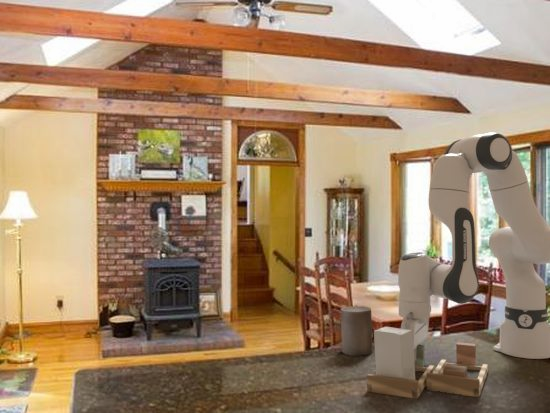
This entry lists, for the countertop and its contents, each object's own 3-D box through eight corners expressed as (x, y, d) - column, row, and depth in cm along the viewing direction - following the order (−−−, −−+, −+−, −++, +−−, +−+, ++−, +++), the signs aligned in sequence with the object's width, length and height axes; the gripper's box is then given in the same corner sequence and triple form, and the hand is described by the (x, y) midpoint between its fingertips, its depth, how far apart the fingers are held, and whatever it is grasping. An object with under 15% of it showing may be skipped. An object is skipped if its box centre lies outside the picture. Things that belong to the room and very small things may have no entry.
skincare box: (416, 389, 132) (415, 330, 133) (402, 395, 128) (401, 334, 128) (387, 382, 139) (387, 325, 139) (374, 387, 134) (373, 328, 134)
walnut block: (446, 383, 137) (446, 364, 137) (467, 386, 135) (467, 366, 135) (443, 389, 133) (443, 369, 133) (464, 392, 130) (464, 372, 130)
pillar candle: (377, 350, 170) (376, 303, 170) (365, 357, 161) (364, 308, 162) (349, 347, 175) (348, 301, 175) (336, 353, 167) (335, 305, 167)
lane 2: (444, 361, 156) (444, 341, 156) (489, 366, 151) (489, 345, 151) (426, 389, 132) (426, 365, 132) (479, 397, 126) (478, 371, 127)
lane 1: (394, 362, 156) (394, 342, 156) (437, 367, 150) (437, 346, 150) (367, 391, 131) (366, 367, 131) (417, 398, 126) (416, 373, 126)
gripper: (418, 317, 141) (418, 369, 141) (432, 305, 160) (432, 351, 159) (394, 315, 144) (394, 366, 144) (411, 303, 162) (411, 349, 162)
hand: (414, 358), depth 152 cm, fingers open, 2 cm apart
